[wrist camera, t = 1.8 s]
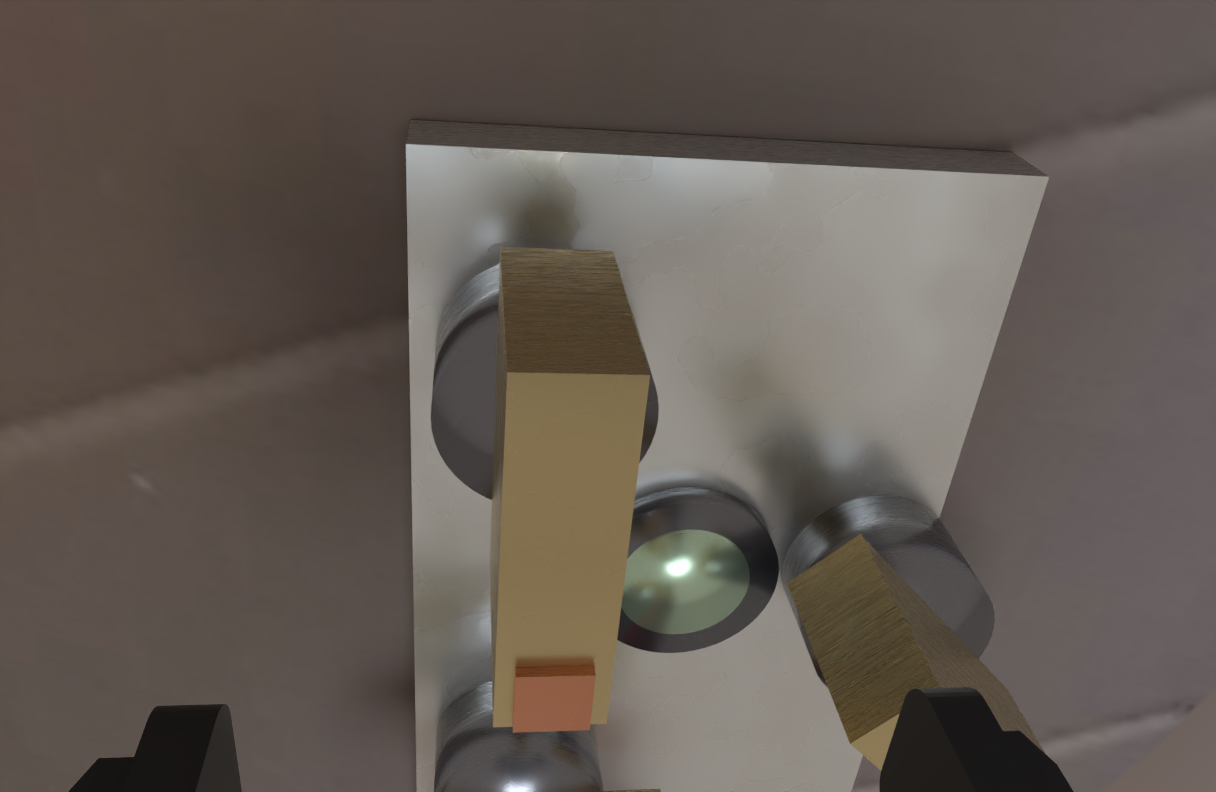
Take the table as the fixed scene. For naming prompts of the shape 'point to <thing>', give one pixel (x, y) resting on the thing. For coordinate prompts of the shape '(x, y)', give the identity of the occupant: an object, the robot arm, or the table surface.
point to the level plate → (718, 404)
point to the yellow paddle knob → (890, 615)
